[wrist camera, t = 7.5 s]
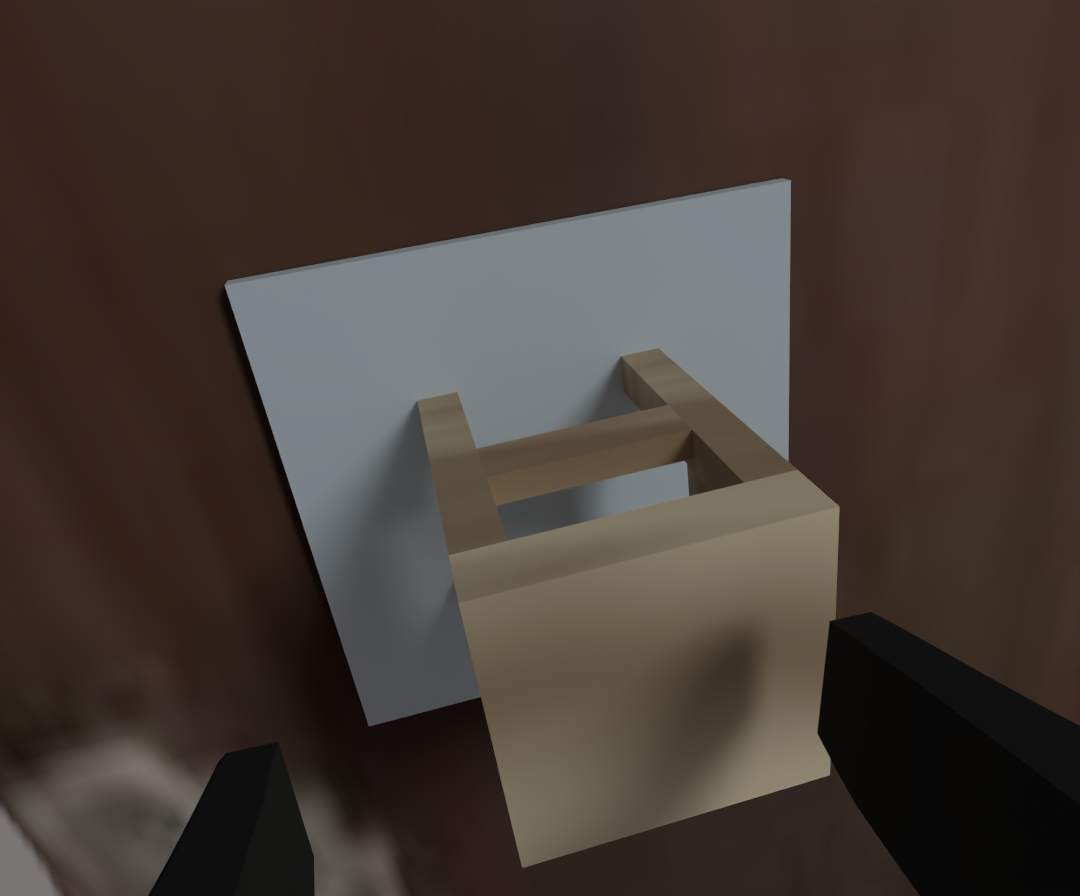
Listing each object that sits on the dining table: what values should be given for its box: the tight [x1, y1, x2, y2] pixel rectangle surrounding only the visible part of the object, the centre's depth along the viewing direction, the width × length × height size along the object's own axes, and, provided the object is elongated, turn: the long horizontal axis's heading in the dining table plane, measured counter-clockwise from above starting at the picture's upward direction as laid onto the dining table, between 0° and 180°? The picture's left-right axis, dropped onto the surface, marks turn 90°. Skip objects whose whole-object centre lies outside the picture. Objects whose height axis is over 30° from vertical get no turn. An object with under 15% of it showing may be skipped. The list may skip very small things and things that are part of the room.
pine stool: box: [417, 348, 839, 868], centre depth 15 cm, size 6×6×8 cm
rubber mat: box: [225, 178, 791, 726], centre depth 19 cm, size 12×12×1 cm
